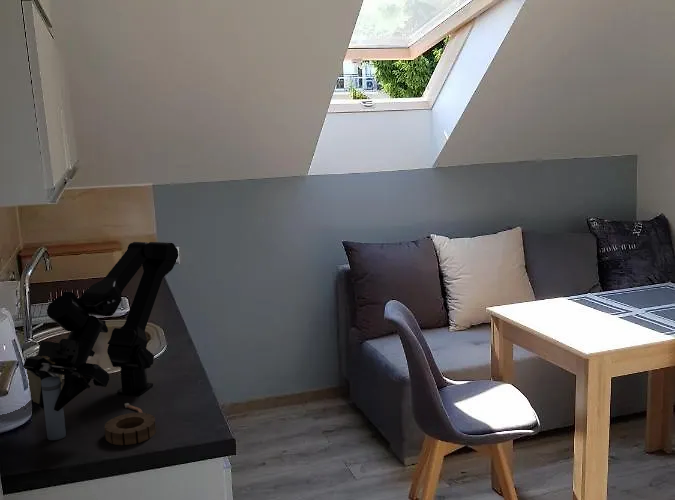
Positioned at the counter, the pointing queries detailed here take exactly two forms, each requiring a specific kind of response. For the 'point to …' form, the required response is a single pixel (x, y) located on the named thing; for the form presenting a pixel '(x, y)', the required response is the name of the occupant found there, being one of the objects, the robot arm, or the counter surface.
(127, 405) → the lace
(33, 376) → the flower pot
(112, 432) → the brown segmented ring
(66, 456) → the counter surface
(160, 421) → the counter surface
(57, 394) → the dark grey capped cylinder
